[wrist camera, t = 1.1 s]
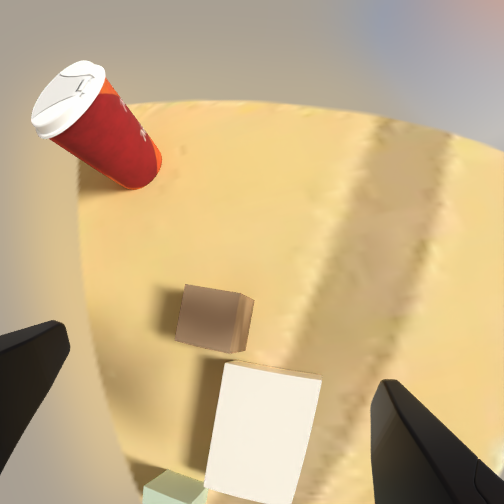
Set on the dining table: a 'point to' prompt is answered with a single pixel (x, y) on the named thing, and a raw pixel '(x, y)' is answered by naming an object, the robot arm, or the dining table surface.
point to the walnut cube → (214, 319)
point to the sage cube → (174, 490)
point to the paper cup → (96, 126)
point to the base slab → (261, 431)
